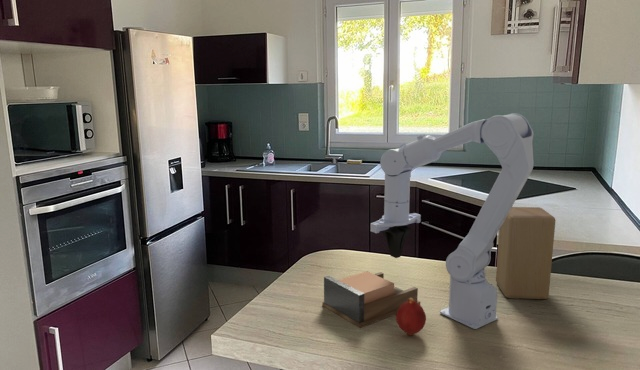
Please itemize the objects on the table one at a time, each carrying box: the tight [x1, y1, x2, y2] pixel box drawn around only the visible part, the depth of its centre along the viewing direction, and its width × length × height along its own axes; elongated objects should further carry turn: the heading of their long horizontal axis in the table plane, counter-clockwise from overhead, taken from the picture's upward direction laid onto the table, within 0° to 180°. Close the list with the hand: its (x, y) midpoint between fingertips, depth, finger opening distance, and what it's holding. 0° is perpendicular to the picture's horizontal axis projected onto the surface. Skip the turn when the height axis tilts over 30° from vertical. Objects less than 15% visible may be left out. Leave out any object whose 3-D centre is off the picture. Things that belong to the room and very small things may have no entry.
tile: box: [338, 271, 395, 304], centre depth 110 cm, size 9×10×3 cm
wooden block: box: [495, 206, 557, 300], centre depth 117 cm, size 10×10×20 cm
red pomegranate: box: [395, 298, 427, 336], centre depth 98 cm, size 6×6×8 cm
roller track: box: [321, 271, 421, 328], centre depth 112 cm, size 13×18×7 cm
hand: (395, 256), depth 116 cm, fingers closed
